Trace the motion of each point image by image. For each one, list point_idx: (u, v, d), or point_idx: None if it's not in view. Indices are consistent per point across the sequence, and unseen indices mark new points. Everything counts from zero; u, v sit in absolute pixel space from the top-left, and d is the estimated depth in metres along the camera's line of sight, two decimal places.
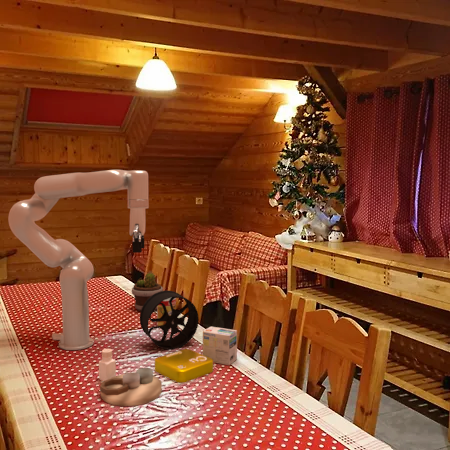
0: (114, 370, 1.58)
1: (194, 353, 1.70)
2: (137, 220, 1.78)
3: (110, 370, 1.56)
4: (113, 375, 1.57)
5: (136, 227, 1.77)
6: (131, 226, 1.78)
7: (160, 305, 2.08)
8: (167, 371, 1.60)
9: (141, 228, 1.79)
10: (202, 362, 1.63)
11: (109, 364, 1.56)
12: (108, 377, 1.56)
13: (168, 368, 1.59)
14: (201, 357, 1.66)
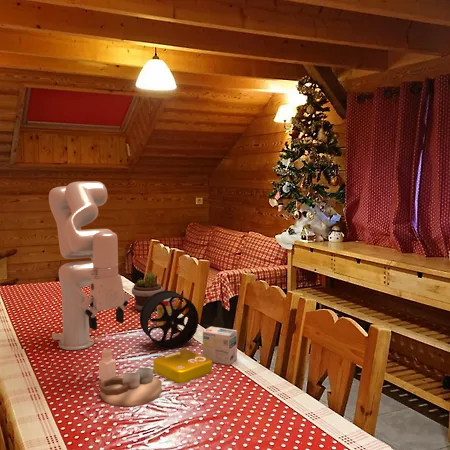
0: (114, 370, 1.58)
1: (193, 354, 1.70)
2: None
3: (110, 370, 1.56)
4: (113, 375, 1.57)
5: None
6: None
7: (160, 305, 2.08)
8: (166, 372, 1.59)
9: None
10: (201, 362, 1.62)
11: (109, 364, 1.56)
12: (108, 377, 1.56)
13: (167, 369, 1.59)
14: (200, 357, 1.66)
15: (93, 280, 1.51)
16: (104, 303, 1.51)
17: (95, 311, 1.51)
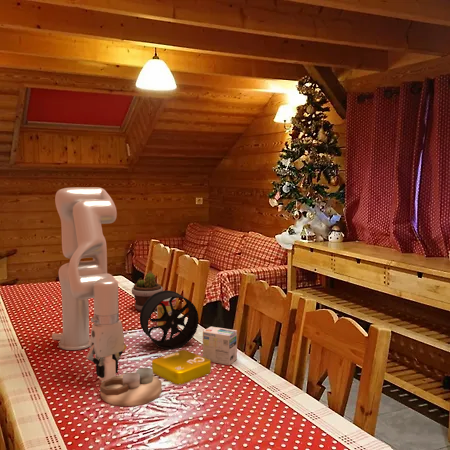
0: (114, 370, 1.58)
1: (191, 354, 1.69)
2: None
3: (110, 370, 1.56)
4: (113, 375, 1.57)
5: None
6: None
7: (160, 305, 2.08)
8: (165, 372, 1.59)
9: None
10: (200, 363, 1.62)
11: (109, 364, 1.56)
12: (108, 377, 1.56)
13: (166, 369, 1.58)
14: (199, 358, 1.65)
15: (94, 327, 1.53)
16: (105, 350, 1.53)
17: (101, 359, 1.54)
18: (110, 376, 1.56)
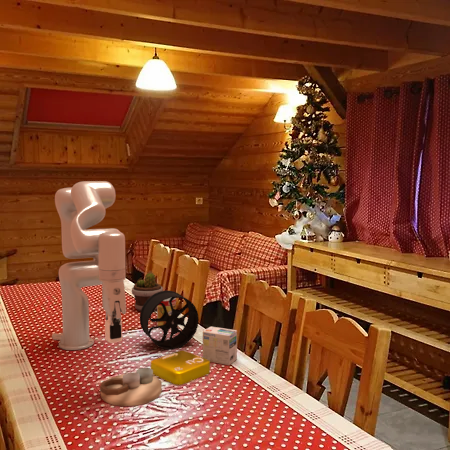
0: None
1: (190, 355, 1.69)
2: None
3: None
4: None
5: None
6: None
7: (160, 305, 2.08)
8: (164, 373, 1.58)
9: None
10: (199, 364, 1.61)
11: None
12: None
13: (165, 370, 1.57)
14: (198, 359, 1.65)
15: (117, 284, 1.40)
16: None
17: None
18: None
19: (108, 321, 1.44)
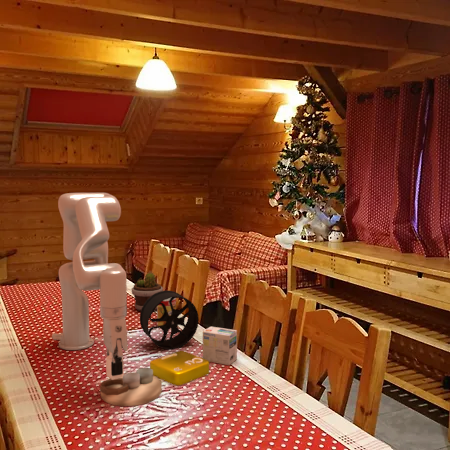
0: None
1: (189, 355, 1.69)
2: None
3: None
4: None
5: None
6: None
7: (160, 305, 2.08)
8: (163, 374, 1.58)
9: None
10: (198, 364, 1.61)
11: None
12: None
13: (164, 371, 1.57)
14: (197, 359, 1.65)
15: (118, 321, 1.41)
16: None
17: None
18: None
19: (109, 357, 1.44)
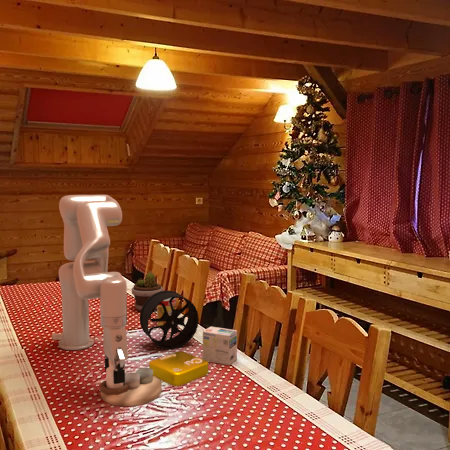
0: None
1: (189, 355, 1.68)
2: None
3: None
4: None
5: None
6: None
7: (160, 305, 2.08)
8: (162, 374, 1.57)
9: None
10: (197, 364, 1.61)
11: None
12: None
13: (163, 371, 1.57)
14: (196, 359, 1.64)
15: (119, 331, 1.41)
16: None
17: None
18: None
19: (109, 369, 1.45)
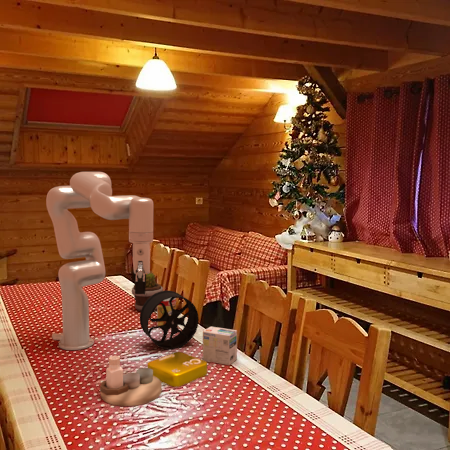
0: None
1: (187, 356, 1.68)
2: None
3: None
4: None
5: None
6: None
7: (160, 305, 2.08)
8: (161, 375, 1.57)
9: None
10: (196, 365, 1.60)
11: None
12: None
13: (162, 372, 1.56)
14: (195, 360, 1.64)
15: (141, 245, 1.53)
16: (149, 266, 1.56)
17: (144, 275, 1.54)
18: None
19: (109, 369, 1.45)
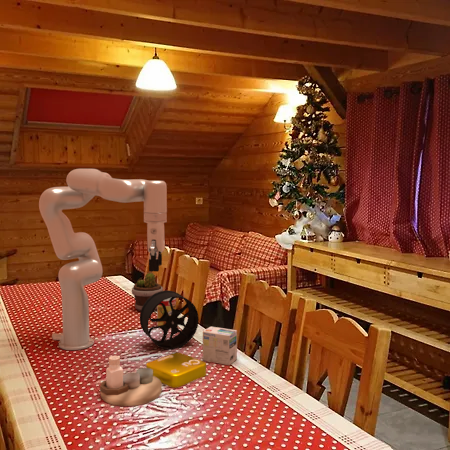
0: None
1: (186, 357, 1.67)
2: None
3: None
4: None
5: None
6: None
7: (160, 305, 2.08)
8: (160, 376, 1.56)
9: None
10: (195, 366, 1.60)
11: None
12: None
13: (161, 373, 1.55)
14: (194, 360, 1.63)
15: (154, 225, 1.61)
16: (163, 245, 1.64)
17: (158, 253, 1.62)
18: None
19: (109, 369, 1.45)
